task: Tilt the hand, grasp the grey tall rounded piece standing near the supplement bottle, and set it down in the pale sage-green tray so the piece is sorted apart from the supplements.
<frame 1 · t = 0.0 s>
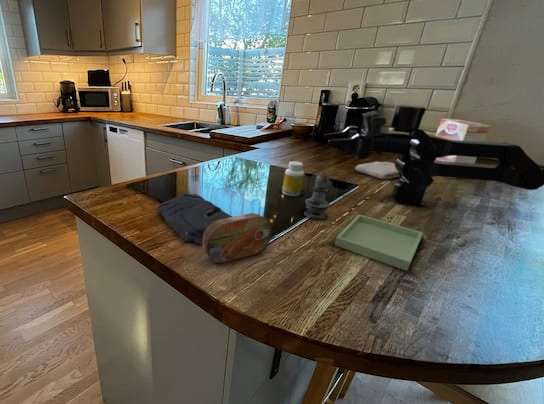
hand: (326, 139, 88), 17 cm above the worktop, tool horizontal, fingers open, 9 cm apart
supplement bottle: (290, 194, 93), on the worktop
coffeecake box: (444, 173, 116), on the worktop
navy blue pouch: (197, 220, 74), on the worktop
sage tray: (378, 242, 66), on the worktop
grey tall rounded piece: (314, 215, 78), on the worktop
tin: (235, 255, 60), on the worktop
washcloth: (383, 174, 114), on the worktop
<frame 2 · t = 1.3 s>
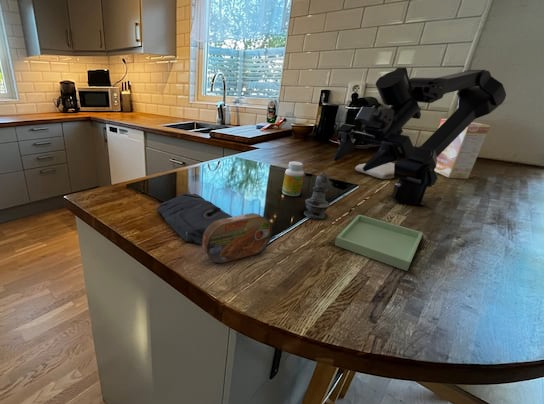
hand: (348, 164, 75), 13 cm above the worktop, tool tilted 45°, fingers open, 9 cm apart
nothing on the worktop moved.
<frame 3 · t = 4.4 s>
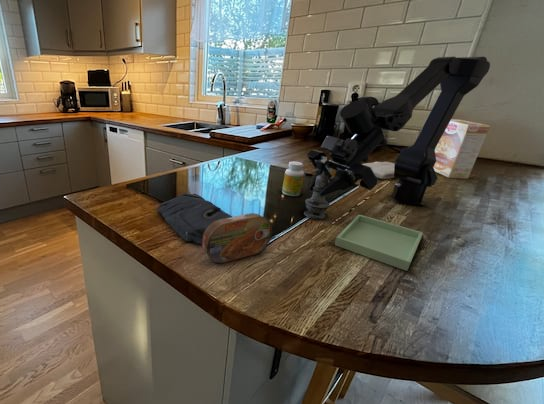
hand: (315, 192, 75), 7 cm above the worktop, tool tilted 45°, fingers closed on grey tall rounded piece, 3 cm apart
grey tall rounded piece: (314, 215, 78), on the worktop, touching gripper
everything else where it was.
when the fingers open (7 cm above the worktop, at t = 9.5 s): grey tall rounded piece stays where it is, resting on sage tray.
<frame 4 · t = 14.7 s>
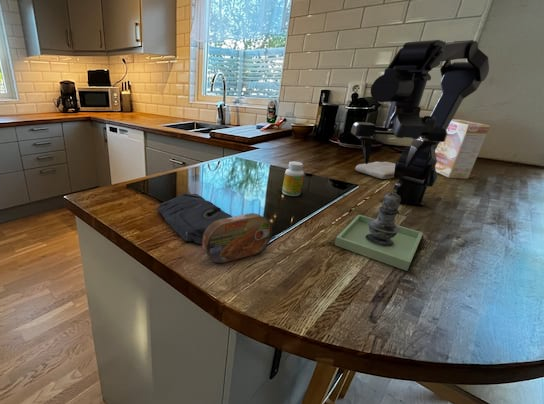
hand: (386, 165, 76), 13 cm above the worktop, tool pointing down, fingers open, 9 cm apart
grey tall rounded piece: (378, 241, 66), resting on sage tray
everything else where it was.
at the end: grey tall rounded piece inside the target area in the sage tray (0.2 cm from its centre), point 0.3 cm above the sage tray's base; grey tall rounded piece tilted 0°; the gripper is holding nothing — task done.
